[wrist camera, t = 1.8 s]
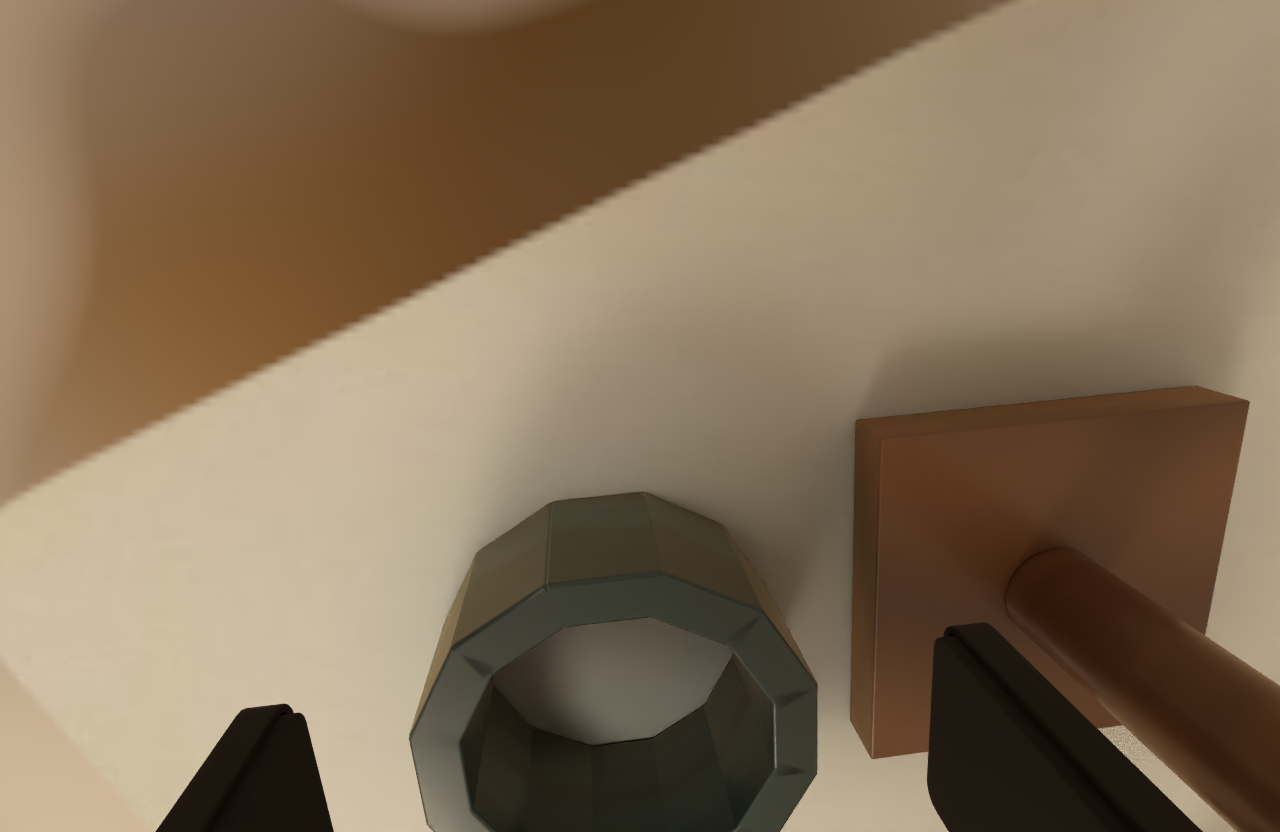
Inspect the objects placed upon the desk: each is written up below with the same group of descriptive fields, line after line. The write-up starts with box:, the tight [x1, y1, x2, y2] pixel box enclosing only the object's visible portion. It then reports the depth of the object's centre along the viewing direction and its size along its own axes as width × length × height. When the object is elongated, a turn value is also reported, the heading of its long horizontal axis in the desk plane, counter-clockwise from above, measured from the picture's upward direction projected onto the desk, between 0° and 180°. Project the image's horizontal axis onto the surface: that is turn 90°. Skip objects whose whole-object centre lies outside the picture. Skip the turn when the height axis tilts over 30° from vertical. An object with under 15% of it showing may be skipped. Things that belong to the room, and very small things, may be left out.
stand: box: [850, 386, 1280, 832], centre depth 13 cm, size 9×9×12 cm
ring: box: [409, 492, 818, 832], centre depth 16 cm, size 8×8×4 cm
